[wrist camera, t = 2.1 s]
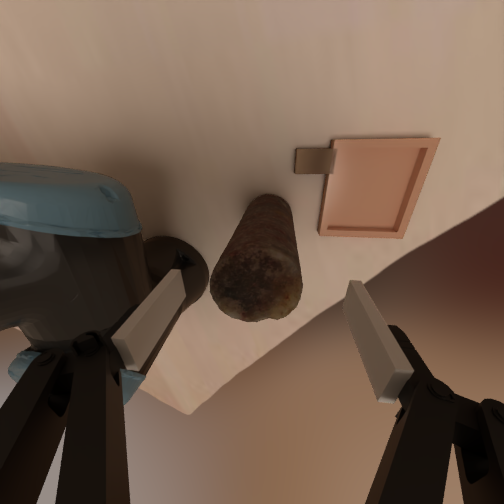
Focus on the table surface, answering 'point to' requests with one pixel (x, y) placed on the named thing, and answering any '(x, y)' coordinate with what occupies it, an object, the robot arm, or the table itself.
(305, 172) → the matchbox
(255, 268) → the dark brown tall piece
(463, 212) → the table surface
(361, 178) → the dish
